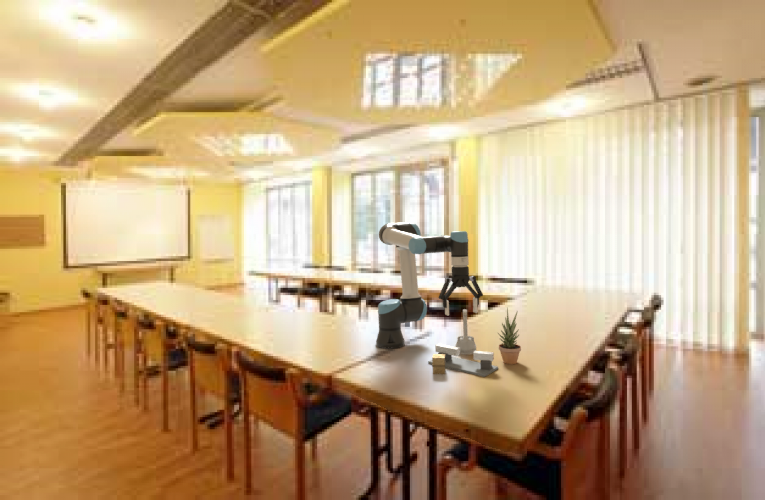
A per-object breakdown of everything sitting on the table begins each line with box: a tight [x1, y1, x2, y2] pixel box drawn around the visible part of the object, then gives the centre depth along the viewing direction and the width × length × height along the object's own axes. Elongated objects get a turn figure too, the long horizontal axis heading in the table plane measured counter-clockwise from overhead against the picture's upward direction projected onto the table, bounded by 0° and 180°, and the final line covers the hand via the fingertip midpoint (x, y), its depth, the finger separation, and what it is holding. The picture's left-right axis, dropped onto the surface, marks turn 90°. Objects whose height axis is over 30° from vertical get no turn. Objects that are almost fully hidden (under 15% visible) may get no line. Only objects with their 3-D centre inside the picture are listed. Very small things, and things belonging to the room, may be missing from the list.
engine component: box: [455, 309, 477, 355], centre depth 201 cm, size 11×20×10 cm
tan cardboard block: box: [431, 353, 446, 375], centre depth 174 cm, size 5×5×7 cm
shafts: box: [435, 343, 495, 362], centre depth 181 cm, size 27×6×3 cm, turn 48°
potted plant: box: [497, 307, 522, 365], centre depth 183 cm, size 10×10×25 cm
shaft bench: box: [427, 352, 499, 378], centre depth 180 cm, size 28×12×4 cm, turn 48°
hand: (461, 313), depth 182 cm, fingers open, 13 cm apart
